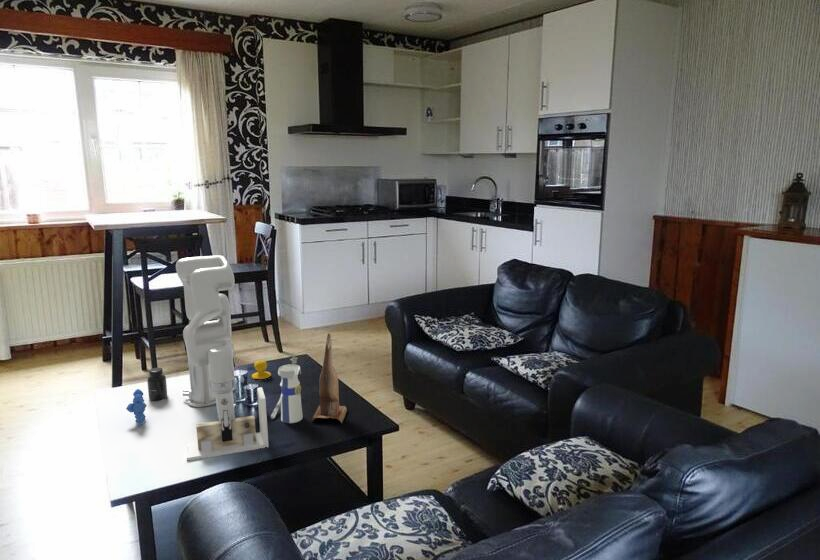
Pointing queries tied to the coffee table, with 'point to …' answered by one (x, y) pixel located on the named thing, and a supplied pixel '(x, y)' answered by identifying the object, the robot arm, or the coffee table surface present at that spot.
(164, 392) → the supplement bottle
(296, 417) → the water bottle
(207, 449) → the hinge base
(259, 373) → the doorknob
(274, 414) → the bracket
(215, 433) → the door
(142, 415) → the grapes
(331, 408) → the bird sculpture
